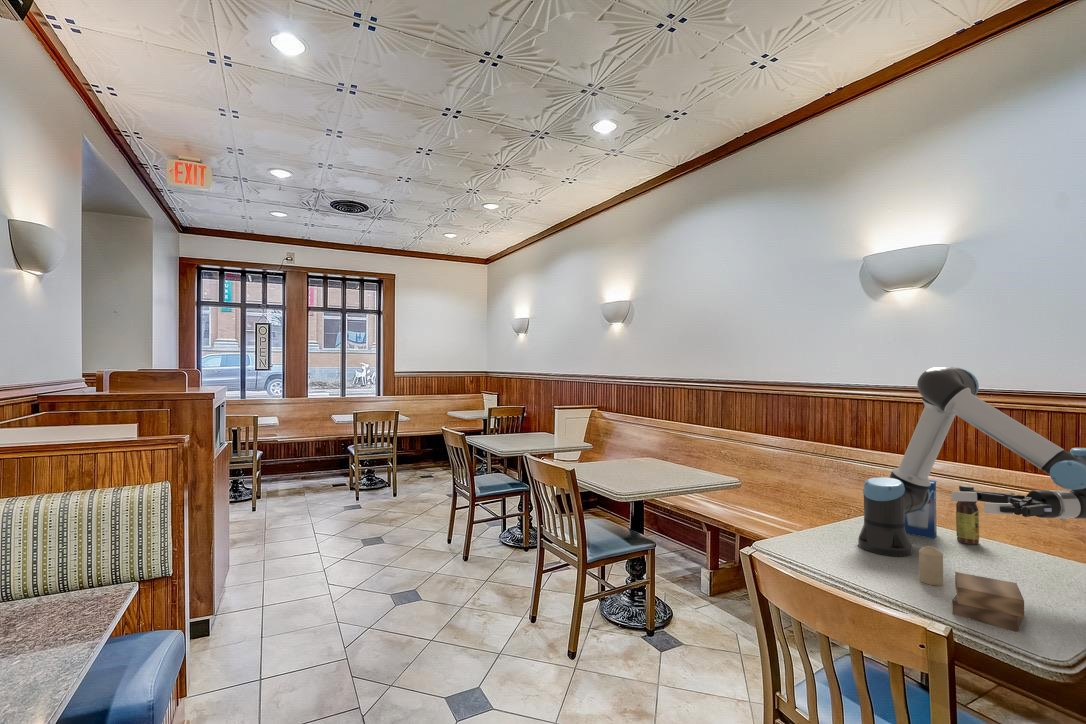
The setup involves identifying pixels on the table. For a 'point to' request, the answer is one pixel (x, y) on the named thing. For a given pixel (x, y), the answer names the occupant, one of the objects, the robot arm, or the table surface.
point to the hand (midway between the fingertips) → (967, 501)
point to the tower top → (989, 594)
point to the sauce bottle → (967, 519)
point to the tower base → (987, 616)
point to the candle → (931, 566)
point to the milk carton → (924, 517)
